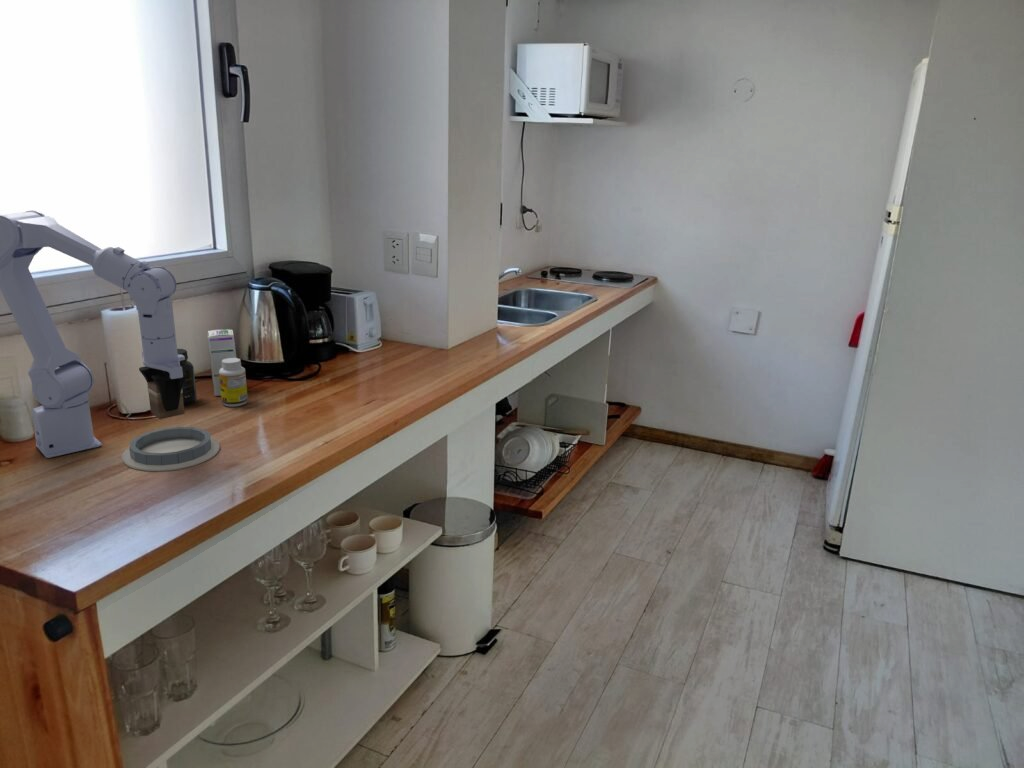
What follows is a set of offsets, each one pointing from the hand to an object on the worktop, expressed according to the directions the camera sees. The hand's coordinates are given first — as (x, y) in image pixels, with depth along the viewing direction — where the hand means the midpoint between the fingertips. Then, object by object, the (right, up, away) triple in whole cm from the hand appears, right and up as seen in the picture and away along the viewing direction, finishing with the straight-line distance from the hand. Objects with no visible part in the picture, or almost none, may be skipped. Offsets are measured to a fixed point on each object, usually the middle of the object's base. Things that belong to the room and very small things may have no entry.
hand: (166, 406), depth 142 cm
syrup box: (-3, +2, +37) cm, 37 cm away
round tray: (0, -9, +3) cm, 9 cm away
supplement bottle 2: (+2, 0, +30) cm, 30 cm away
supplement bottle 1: (-10, 0, +29) cm, 31 cm away
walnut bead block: (0, -1, +1) cm, 1 cm away
